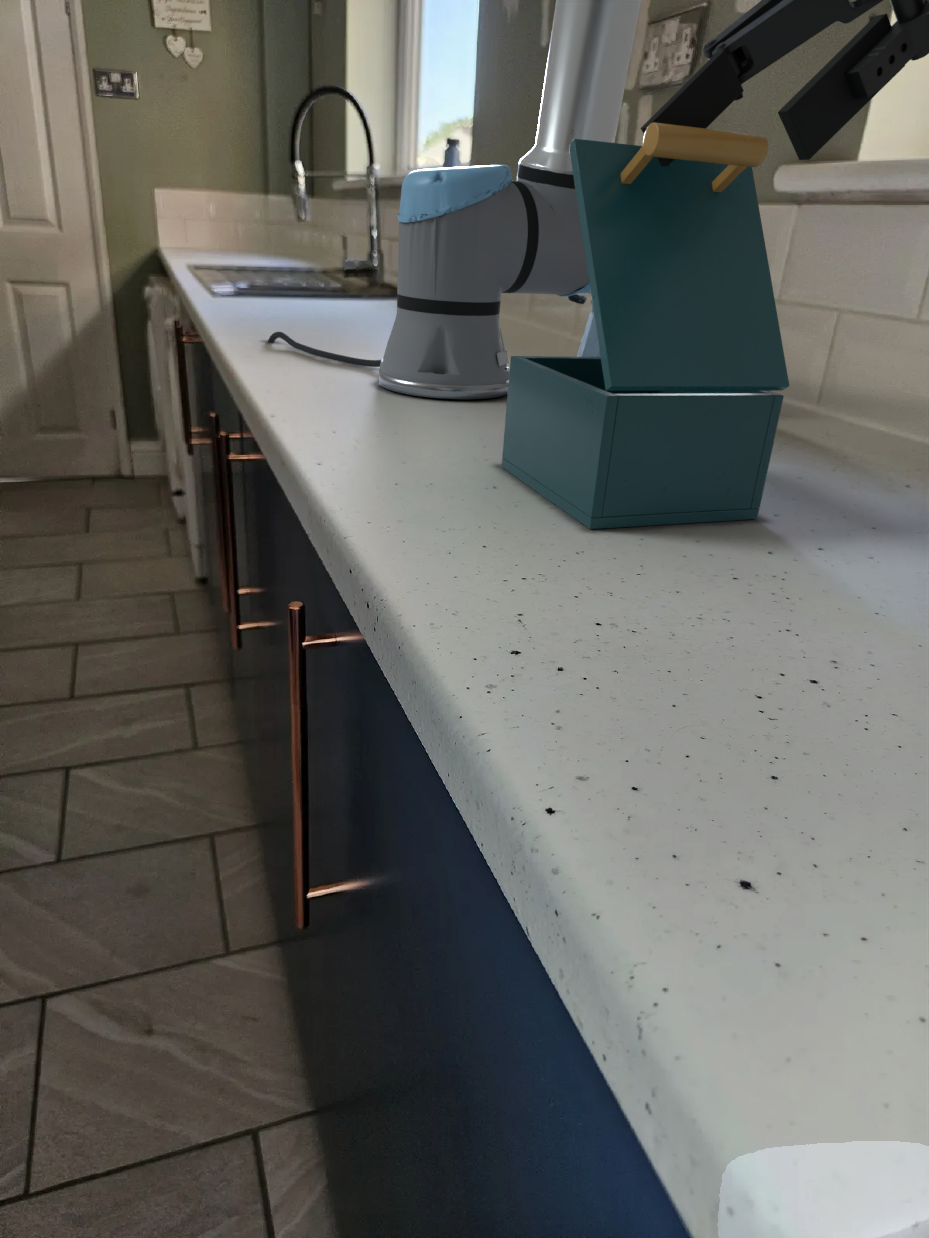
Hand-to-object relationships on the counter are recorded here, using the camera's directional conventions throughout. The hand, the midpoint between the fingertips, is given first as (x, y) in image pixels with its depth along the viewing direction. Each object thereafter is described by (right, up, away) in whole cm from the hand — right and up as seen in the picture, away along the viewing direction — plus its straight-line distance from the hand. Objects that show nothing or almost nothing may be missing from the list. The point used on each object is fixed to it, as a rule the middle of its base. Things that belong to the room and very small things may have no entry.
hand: (715, 143), depth 49 cm
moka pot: (+5, +7, +70) cm, 71 cm away
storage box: (-2, -17, +18) cm, 25 cm away
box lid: (0, -4, +9) cm, 10 cm away
